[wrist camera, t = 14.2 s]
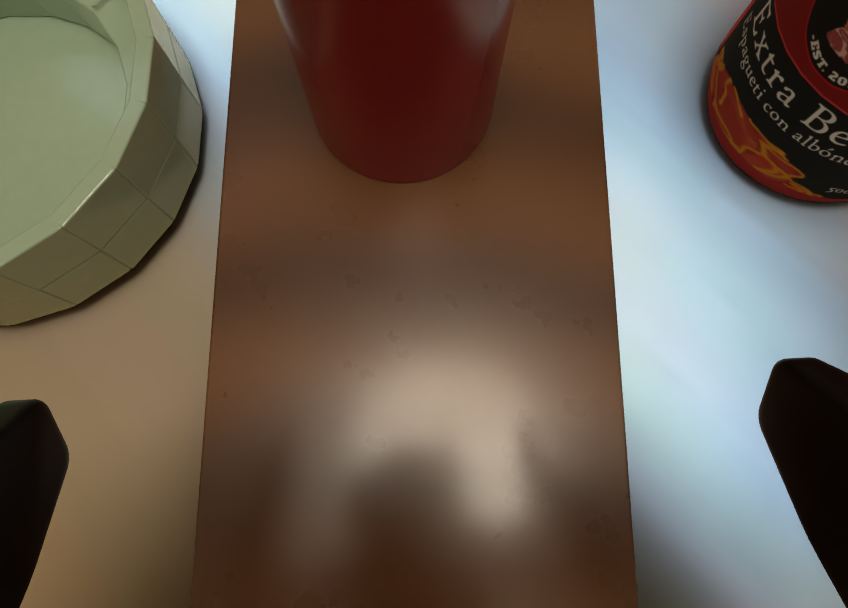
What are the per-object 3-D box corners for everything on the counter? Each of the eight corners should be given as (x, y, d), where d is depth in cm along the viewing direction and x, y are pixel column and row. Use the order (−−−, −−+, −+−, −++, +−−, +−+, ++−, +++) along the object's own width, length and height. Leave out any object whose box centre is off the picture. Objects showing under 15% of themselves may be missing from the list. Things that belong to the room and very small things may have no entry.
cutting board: (626, 664, 17) (645, 685, 16) (203, 665, 17) (183, 686, 16) (582, 19, 22) (593, -11, 21) (248, 19, 22) (236, -11, 21)
